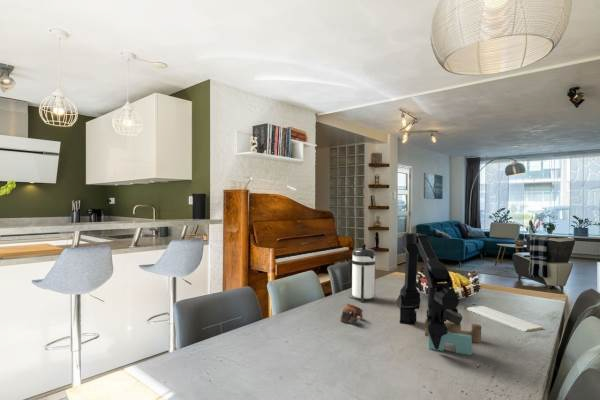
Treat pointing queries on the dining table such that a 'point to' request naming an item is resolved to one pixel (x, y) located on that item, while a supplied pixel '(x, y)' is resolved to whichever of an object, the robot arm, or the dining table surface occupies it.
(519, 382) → the dining table surface
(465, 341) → the teal notched plate
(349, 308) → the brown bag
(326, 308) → the dining table surface
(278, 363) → the dining table surface
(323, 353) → the dining table surface
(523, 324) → the baseboard molding
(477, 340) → the walnut slotted board
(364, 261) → the coffee press
